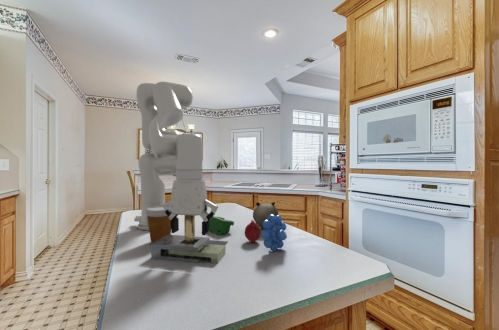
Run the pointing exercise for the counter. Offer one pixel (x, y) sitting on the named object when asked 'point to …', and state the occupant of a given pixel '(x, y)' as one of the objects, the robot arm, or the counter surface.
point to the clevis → (186, 249)
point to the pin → (189, 229)
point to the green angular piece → (219, 225)
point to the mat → (217, 242)
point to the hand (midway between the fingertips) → (189, 232)
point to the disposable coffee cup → (158, 223)
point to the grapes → (274, 232)
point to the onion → (252, 231)
